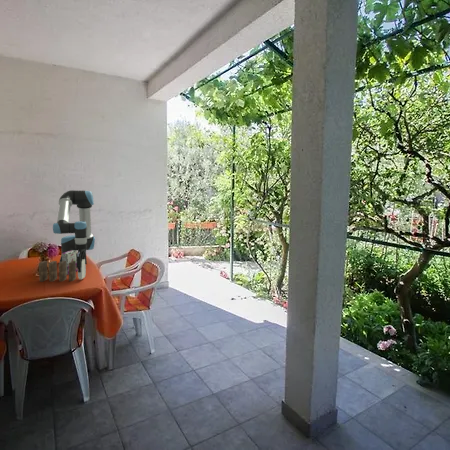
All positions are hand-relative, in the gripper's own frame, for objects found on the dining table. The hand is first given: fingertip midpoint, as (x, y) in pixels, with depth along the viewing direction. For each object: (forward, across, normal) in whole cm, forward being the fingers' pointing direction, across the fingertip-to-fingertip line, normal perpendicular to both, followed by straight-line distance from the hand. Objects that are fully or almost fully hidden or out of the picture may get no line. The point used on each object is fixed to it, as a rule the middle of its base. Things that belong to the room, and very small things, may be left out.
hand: (82, 274), depth 224 cm
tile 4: (+4, 0, -6) cm, 7 cm away
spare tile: (+2, 0, 0) cm, 2 cm away
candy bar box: (+4, -19, -15) cm, 25 cm away
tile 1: (+4, 0, -26) cm, 26 cm away
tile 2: (+4, 0, -20) cm, 20 cm away
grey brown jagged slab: (+4, 0, -13) cm, 13 cm away
